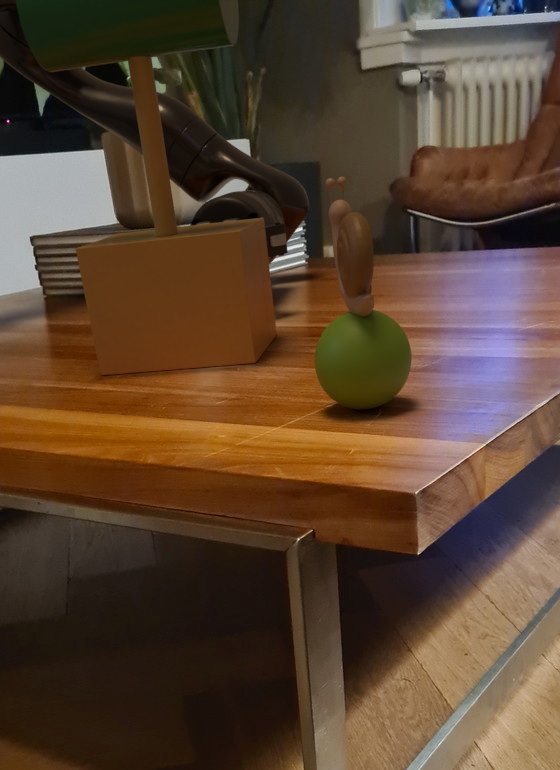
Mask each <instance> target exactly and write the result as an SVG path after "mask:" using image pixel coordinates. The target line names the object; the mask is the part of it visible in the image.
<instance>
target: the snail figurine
mask: <svg viewBox="0 0 560 770" xmlns="http://www.w3.org/2000/svg"><path fill="white" fill-rule="evenodd" d="M336 184H337V186H338V187H339V188H341V197H342V199H337V200H334V201H333V192H332V191H333V190H332V189H334V188H335V187H336ZM347 185H348V180H347V178H346V177H345V176H340V177H338V179H337V180H335V179H334V178H332V177H329V178H327V179H326V180H325V187H326V188H327V189H329V194H330V195H329V196H330V207H329V209H328V218H329V222H330V224H331V235H332V236H331V240H332V241H331V242H332V252H333V260H334V265H335V270H336V276H337V281H338V287H339V292H340V295H341V296H342V299H343V301H344V303H345V306H346V308H347V310H348V312H345V313H342V314H341V315H339V316H338V317H336V318H335V319H333V320H332V321H331V322H330V323H329V324H328V325H327V326H326V327H325V328H324V330H323V332H322V333H321V335H320V337H319V339H318V341H317V343H316V348H315V351H314V370H315V374H316V378H317V380H318V382H319V385H320V386H321V388H322V389H323V391H324V392H325V393H326V395H328V397H329V398H330V399H332V401H334V402H336V403H337V404H339V405H340V406H342V407H345V408H348V409H352V410H358V411H359V410H361V411H362V410H365V411H366V410H371V409H376V408H379V407H381V406H383V405H385V404H387V403H389V402H390V401H391V400H393V399H394V398H395V397H396V396H397V395H398V394H399V393H400V392H401V390H402V389H403V388H404V386H405V384H406V382H407V380H408V378H409V374H410V373H411V368H412V360H413V359H412V349H411V348H412V347H411V343H410V341H409V339H408V335H407V334H406V332H405V330H404V329H403V328H402V327H401V325H400V324H399V323H398V322H397V321H396V320H395V319H394V318H392V316H389V315H388V314H386V313H384V312H381V311H378V310H374V308H375V298H374V296H373V295H372V288H373V287H372V282H373V276H374V266H375V263H374V262H375V258H374V257H375V256H374V243H373V236H372V231H371V228H370V224H369V222H368V220H367V217H365V216H364V215H363V214H362V213H360V212H359V211H353V212H352V207H351V206H350V204H349V202H347V201H346V200H345V195H344V187H346V186H347Z"/></svg>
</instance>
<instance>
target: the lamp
mask: <svg viewBox="0 0 560 770" xmlns="http://www.w3.org/2000/svg"><path fill="white" fill-rule="evenodd" d="M16 5H17V10H18V14H19V18H20V22H21V25H22V28H23V31H24V34H25V37H26V40H27V42H28V45H29V47H30V49H31V51H32V53H33V55H34V57H35V58H36V60H37V62H38V63H39V64H40V65H41V67H42V68H43V69H45V70H46V71H48V72H56V71H62V70H69V69H76V68H83V69H84V68H89V67H94V66H95V67H96V66H102V65H103V66H104V65H109V64H117V63H123V62H127V65H128V71H129V76H130V77H129V78H130V83H131V84H130V85H131V88H132V90H133V96H134V102H135V109H136V115H137V121H138V127H139V133H140V140H141V146H142V152H143V155H142V156H143V157H142V158H143V165H144V170H145V176H146V182H147V189H148V194H149V202H150V206H151V207H150V208H151V213H152V219H153V226H154V229H147V230H138V231H130V232H128V231H127V232H120V233H116V234H113V235H111V236H107V237H105V238H102V239H99V240H96V241H93V242H90V243H87V244H85V245H82V246H79V247H76V248H75V254H76V258H77V263H78V267H79V268H78V269H79V273H80V278H81V283H82V289H83V294H84V298H85V303H86V308H87V314H88V318H89V323H90V328H91V333H92V338H93V343H94V348H95V353H96V358H97V363H98V368H99V373H100V376H110V375H111V376H112V375H113V376H114V375H124V374H125V375H126V374H134V373H135V374H136V373H148V372H149V373H150V372H159V371H160V372H161V371H174V370H186V369H198V368H199V369H200V368H213V367H223V366H224V367H225V366H235V365H249V364H256V363H257V362H258V360H259V359H260V358H261V356H262V355H263V354H264V352H265V351H266V350H267V349H268V347H270V345H271V343H272V342H273V340H274V339H275V338H276V337H277V335H278V334H277V326H276V316H275V307H274V298H273V290H272V280H271V271H270V265H269V260H268V251H267V241H266V232H265V224H264V218H255V219H246V220H237V221H228V222H219V223H210V224H201V225H192V226H190V225H185V226H184V225H183V226H178V225H177V218H176V212H175V211H176V210H175V205H174V198H173V192H172V185H171V180H170V177H169V171H168V164H167V157H166V151H165V144H164V138H163V131H162V124H161V118H160V111H159V104H158V98H157V92H158V91H157V85H156V79H155V71H154V66H153V65H154V64H153V58H157V57H164V56H170V55H177V54H178V55H179V54H185V53H189V52H190V53H191V52H198V51H206V50H211V49H218V48H225V47H233V46H235V45H236V44H237V42H238V37H239V27H240V14H239V12H240V11H239V0H16Z"/></svg>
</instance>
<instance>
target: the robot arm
mask: <svg viewBox="0 0 560 770" xmlns="http://www.w3.org/2000/svg"><path fill="white" fill-rule="evenodd" d="M0 58H1V59H2V61H4V62H5V63H6V64H7V65H8V66H9V67H11V68H12V69H13V70H15V71H16V72H17V73H18V74H20V75H22V76H23V77H24V78H25V79H27V80H28V81H30V82H32V83H33V84H34V85H36V86H38V87H39V88H41V89H42V90H44V91H46V92H47V93H49V94H50V95H52V96H53V97H55V98H56V99H58V100H59V101H60V102H62V103H64V104H65V105H67V106H68V107H70V108H71V109H73V110H74V111H76V112H78V113H79V114H80V115H82V116H84V117H85V118H87V119H89V120H91V121H92V122H94V123H95V124H96V125H98V126H100V127H101V128H103V129H104V130H106V131H108V132H110V133H111V134H112V135H114V136H115V137H117V138H118V139H120V140H121V141H123V142H125V143H126V144H127V145H128V146H130V147H131V148H132V149H133V150H135V151H136V152H138V153H139V154H140V155H141V156H143V152H142V146H141V140H140V133H139V127H138V121H137V115H136V109H135V102H134V96H133V90H132V86H126V85H125V86H124V85H120V84H115V83H112V82H108V81H105V80H103V79H101V78H98V77H96V76H95V75H93V74H91V73H90V72H89V71H87V70H85V68H84V67H83V68H76V69H69V70H62V71H56V72H48V71H46V70H45V69H43V68H42V67H41V65H40V64H39V63H38V62H37V60H36V58H35V57H34V55H33V53H32V51H31V49H30V47H29V45H28V42H27V40H26V37H25V34H24V31H23V28H22V25H21V22H20V18H19V14H18V10H17V5H16V0H0ZM157 98H158V104H159V111H160V118H161V124H162V131H163V138H164V144H165V151H166V157H167V164H168V171H169V177H170V181H171V182H172V183H174V185H176V186H177V187H178V188H179V189H181V190H182V191H183V192H184V193H185V194H186V195H187V196H189V197H190V198H191V199H192V200H194V201H196V202H197V203H203V204H202V205H201V206H200V207H199V208H198V210H197V211H196V212H195V214H194V215H193V218H192V220H191V222H190V225H189V226H192V225H201V224H210V223H219V222H228V221H237V220H246V219H255V218H264V224H265V232H266V241H267V251H268V260H269V266H270V265H271V264H272V263H273V262H274V260H275V259H276V258H277V257H282V256H285V255H286V254H289V252H288V251H289V250H288V241H290V239H292V236H293V235H294V233H295V232H296V231H297V229H298V228H299V227H300V225H301V224H302V223H303V222H304V220H305V219H306V217H307V215H308V213H309V211H310V201H309V197H308V194H307V191H306V189H305V188H304V186H303V185H302V183H300V182H299V180H297V179H296V178H294V177H293V176H292V175H290V174H288V173H287V172H284V171H283V170H280V169H278V168H276V167H273V166H271V165H269V164H267V163H266V162H262V161H260V160H258V159H256V158H254V157H252V156H251V155H249V154H247V153H245V152H244V151H243V150H241V149H240V148H238V147H236V146H235V145H233V144H232V143H231V142H229V141H228V140H227V139H225V138H224V137H223V136H222V135H221V134H219V133H218V131H216V130H215V129H214V128H213V127H212V126H211V125H210V124H209V123H207V122H206V121H205V120H204V119H203V118H202V117H200V116H199V114H198V113H196V112H195V111H194V110H193V109H191V108H190V107H189V106H187V105H186V104H185V103H183V102H182V101H180V100H179V99H177V98H175V97H173V96H171V95H168V94H166V93H163V92H158V91H157ZM235 180H238V181H242V182H244V183H246V184H247V187H246V188H245V190H237V191H231V192H227V193H223V194H221V195H219V196H216V195H217V194H218V193H219V192H220V191H221V190H222V189H223V188H224V187H225V186H226V185H227V184H229V183H230V182H231V181H235ZM215 196H216V197H215ZM213 197H214V198H213Z"/></svg>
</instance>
